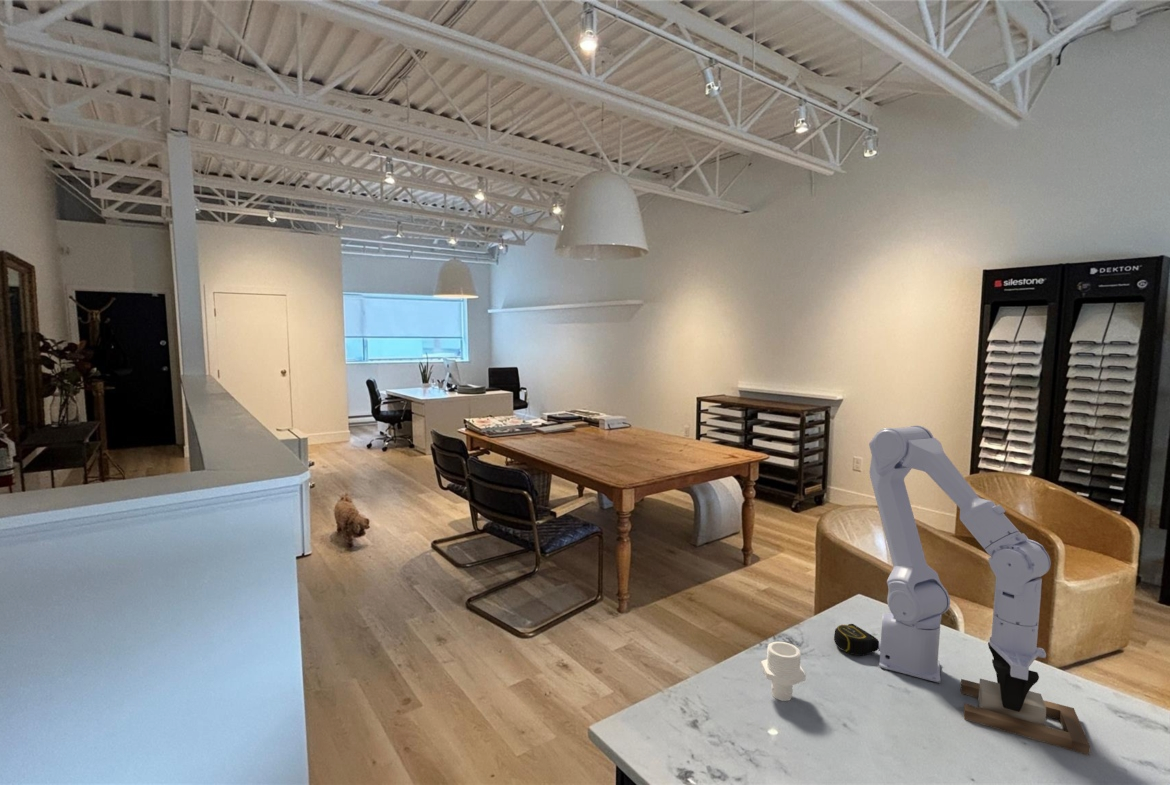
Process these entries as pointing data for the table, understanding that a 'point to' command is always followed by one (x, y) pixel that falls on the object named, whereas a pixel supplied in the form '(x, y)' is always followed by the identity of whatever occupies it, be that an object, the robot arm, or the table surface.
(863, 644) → the tape measure
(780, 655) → the pipe fitting
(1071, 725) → the brown frame section
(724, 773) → the table surface
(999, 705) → the beige rectangular block
